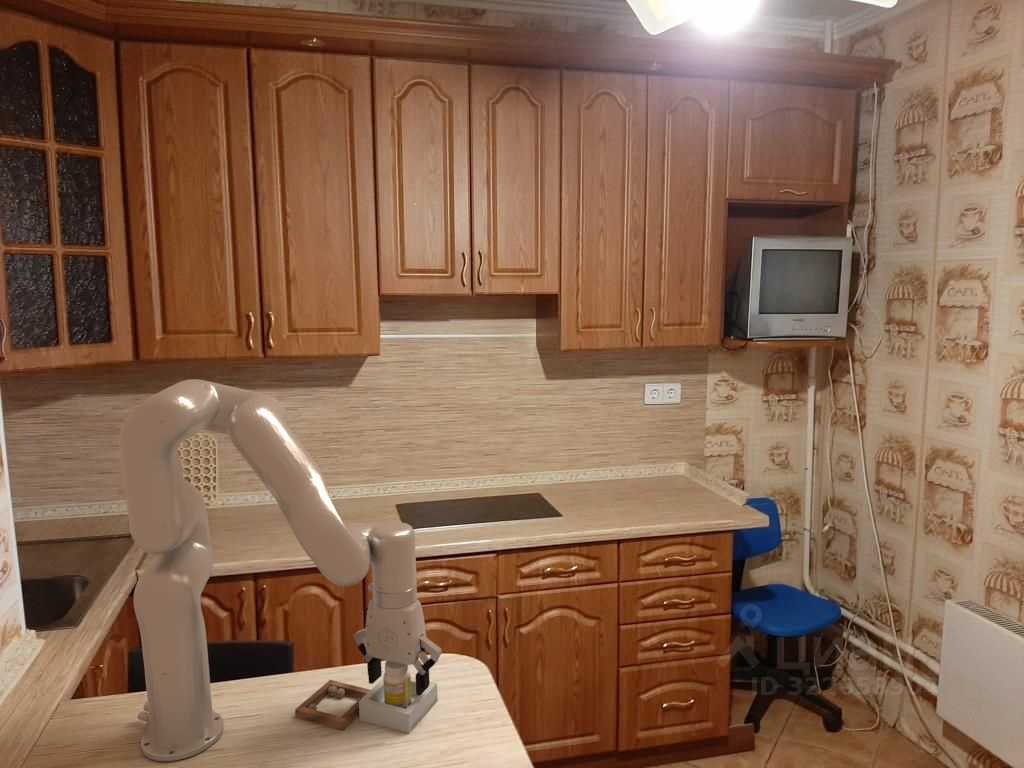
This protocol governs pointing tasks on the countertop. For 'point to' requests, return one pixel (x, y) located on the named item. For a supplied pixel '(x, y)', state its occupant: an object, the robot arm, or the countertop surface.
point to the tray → (311, 714)
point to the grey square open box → (393, 716)
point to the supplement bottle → (397, 685)
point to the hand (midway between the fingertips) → (398, 685)
